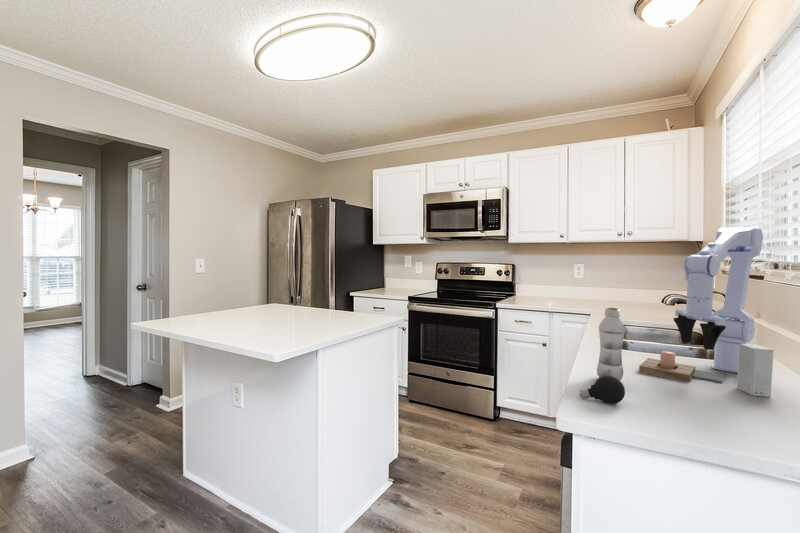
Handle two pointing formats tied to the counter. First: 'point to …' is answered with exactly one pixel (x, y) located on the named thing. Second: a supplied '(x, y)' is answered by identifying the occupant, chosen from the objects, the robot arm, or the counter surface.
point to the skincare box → (755, 370)
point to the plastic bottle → (611, 345)
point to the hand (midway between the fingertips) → (697, 345)
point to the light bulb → (605, 390)
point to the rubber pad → (708, 376)
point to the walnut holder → (667, 370)
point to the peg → (667, 359)
